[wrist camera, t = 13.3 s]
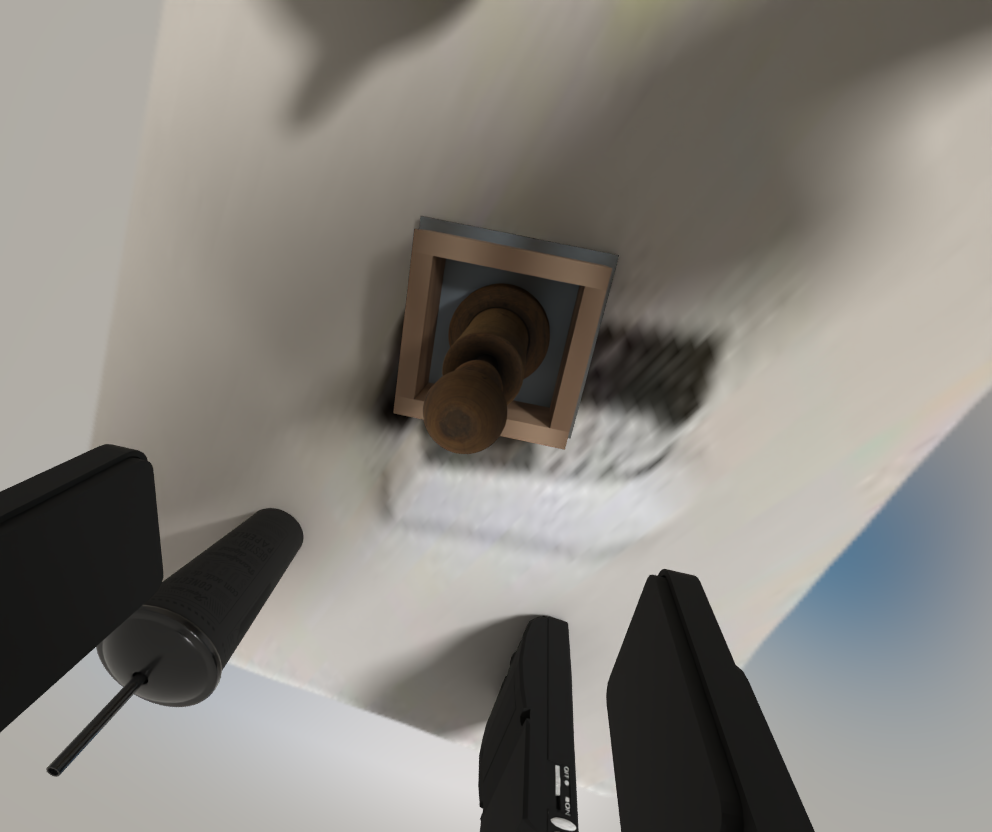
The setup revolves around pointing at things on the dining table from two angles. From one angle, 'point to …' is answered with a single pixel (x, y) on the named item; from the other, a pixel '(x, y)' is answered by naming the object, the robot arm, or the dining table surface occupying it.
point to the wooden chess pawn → (485, 366)
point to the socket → (517, 261)
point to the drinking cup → (194, 622)
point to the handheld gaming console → (532, 739)
